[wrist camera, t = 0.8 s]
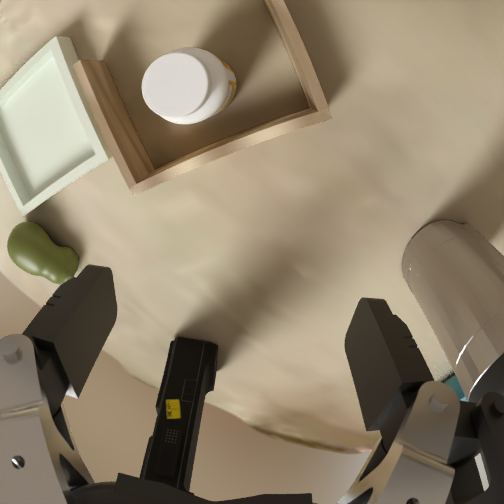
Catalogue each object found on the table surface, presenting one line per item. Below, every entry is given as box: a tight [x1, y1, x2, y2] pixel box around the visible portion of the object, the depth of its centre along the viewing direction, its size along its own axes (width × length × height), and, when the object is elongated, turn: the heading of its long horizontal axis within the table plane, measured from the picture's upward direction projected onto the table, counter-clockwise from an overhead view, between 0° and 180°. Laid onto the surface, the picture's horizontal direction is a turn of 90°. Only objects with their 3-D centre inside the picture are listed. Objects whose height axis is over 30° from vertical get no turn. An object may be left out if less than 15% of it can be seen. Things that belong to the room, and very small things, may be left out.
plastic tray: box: [0, 36, 113, 217], centre depth 24 cm, size 14×14×2 cm
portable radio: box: [140, 337, 218, 495], centre depth 28 cm, size 8×6×25 cm
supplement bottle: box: [142, 47, 237, 124], centre depth 19 cm, size 5×5×10 cm
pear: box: [7, 222, 79, 284], centre depth 30 cm, size 6×5×10 cm
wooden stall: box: [73, 0, 332, 196], centre depth 21 cm, size 17×13×4 cm
